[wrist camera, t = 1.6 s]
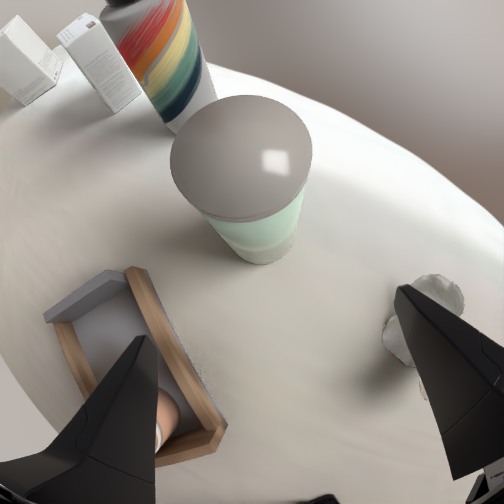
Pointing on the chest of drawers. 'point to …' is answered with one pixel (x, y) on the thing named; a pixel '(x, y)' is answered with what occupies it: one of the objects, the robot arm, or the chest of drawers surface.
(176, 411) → the jar
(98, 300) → the bar
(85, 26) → the skincare box
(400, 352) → the artificial flower
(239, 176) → the mint green grey canister
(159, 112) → the lotion bottle
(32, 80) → the skincare box
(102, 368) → the wooden tray
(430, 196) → the chest of drawers surface
